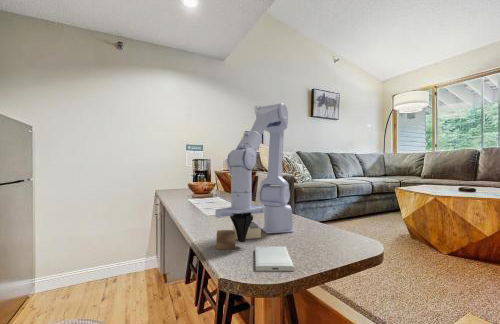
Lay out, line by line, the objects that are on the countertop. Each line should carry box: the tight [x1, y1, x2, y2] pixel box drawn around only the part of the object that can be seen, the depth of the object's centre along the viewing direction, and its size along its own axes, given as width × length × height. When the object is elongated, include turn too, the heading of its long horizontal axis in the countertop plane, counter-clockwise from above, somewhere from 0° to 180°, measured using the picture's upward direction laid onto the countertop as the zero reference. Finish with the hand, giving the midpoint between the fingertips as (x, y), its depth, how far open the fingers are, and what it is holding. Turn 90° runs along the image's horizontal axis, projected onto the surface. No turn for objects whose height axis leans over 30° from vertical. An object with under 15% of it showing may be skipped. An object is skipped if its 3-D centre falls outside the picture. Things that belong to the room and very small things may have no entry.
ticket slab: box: [232, 221, 262, 241], centre depth 74 cm, size 8×6×4 cm
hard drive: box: [254, 246, 296, 272], centre depth 55 cm, size 2×8×12 cm
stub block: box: [216, 229, 236, 250], centre depth 64 cm, size 5×4×4 cm
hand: (241, 241), depth 64 cm, fingers closed
